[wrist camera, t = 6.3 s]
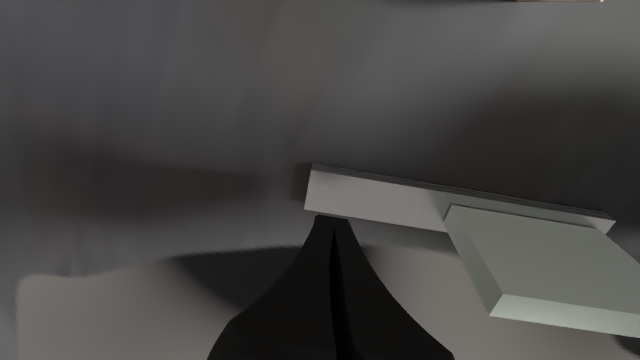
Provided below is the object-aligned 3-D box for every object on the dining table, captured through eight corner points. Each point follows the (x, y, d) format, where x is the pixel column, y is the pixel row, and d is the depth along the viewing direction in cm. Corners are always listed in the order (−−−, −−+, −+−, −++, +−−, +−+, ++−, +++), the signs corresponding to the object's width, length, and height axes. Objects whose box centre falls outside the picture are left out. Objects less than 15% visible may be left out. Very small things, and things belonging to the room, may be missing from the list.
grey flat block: (599, 229, 16) (711, 325, 12) (585, 246, 17) (687, 344, 12) (451, 204, 16) (503, 293, 11) (443, 223, 17) (488, 315, 12)
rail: (604, 212, 17) (616, 220, 16) (578, 245, 18) (589, 255, 17) (311, 162, 16) (311, 170, 15) (305, 201, 17) (304, 209, 17)
